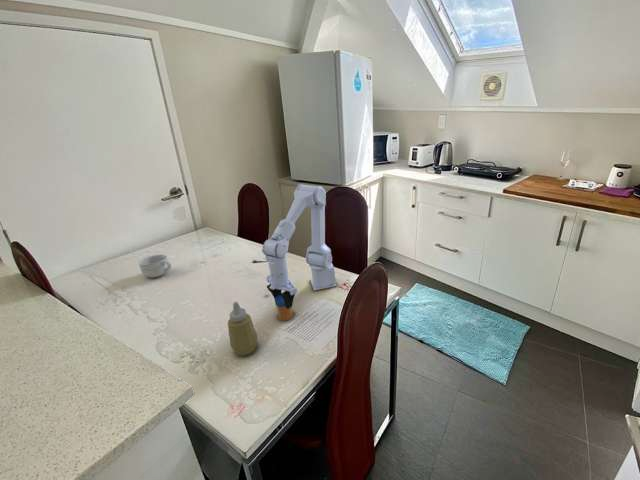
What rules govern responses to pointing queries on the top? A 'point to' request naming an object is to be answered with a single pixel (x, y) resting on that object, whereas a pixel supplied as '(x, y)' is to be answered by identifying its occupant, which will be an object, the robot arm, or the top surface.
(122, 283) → the top surface
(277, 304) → the lid
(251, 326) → the squeeze bottle
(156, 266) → the teacup
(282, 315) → the jar
